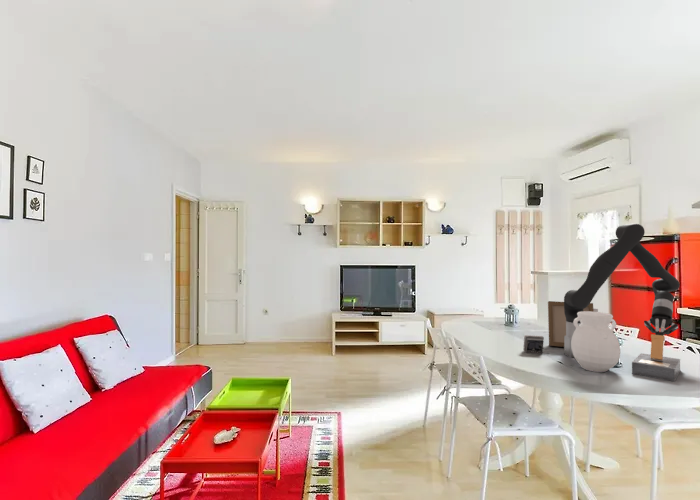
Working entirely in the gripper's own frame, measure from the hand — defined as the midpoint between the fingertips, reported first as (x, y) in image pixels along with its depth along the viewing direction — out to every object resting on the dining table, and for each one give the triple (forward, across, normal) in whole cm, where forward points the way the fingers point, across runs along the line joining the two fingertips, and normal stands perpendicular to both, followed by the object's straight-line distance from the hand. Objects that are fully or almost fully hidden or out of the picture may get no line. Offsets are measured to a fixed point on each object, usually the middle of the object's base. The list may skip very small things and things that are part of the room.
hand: (658, 340), depth 173 cm
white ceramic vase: (+26, -20, -8) cm, 34 cm away
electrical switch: (+19, -49, 0) cm, 53 cm away
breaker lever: (+12, 0, -1) cm, 12 cm away
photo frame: (-3, -41, +21) cm, 46 cm away
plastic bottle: (-16, -34, +35) cm, 51 cm away
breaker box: (+15, 0, +3) cm, 15 cm away
